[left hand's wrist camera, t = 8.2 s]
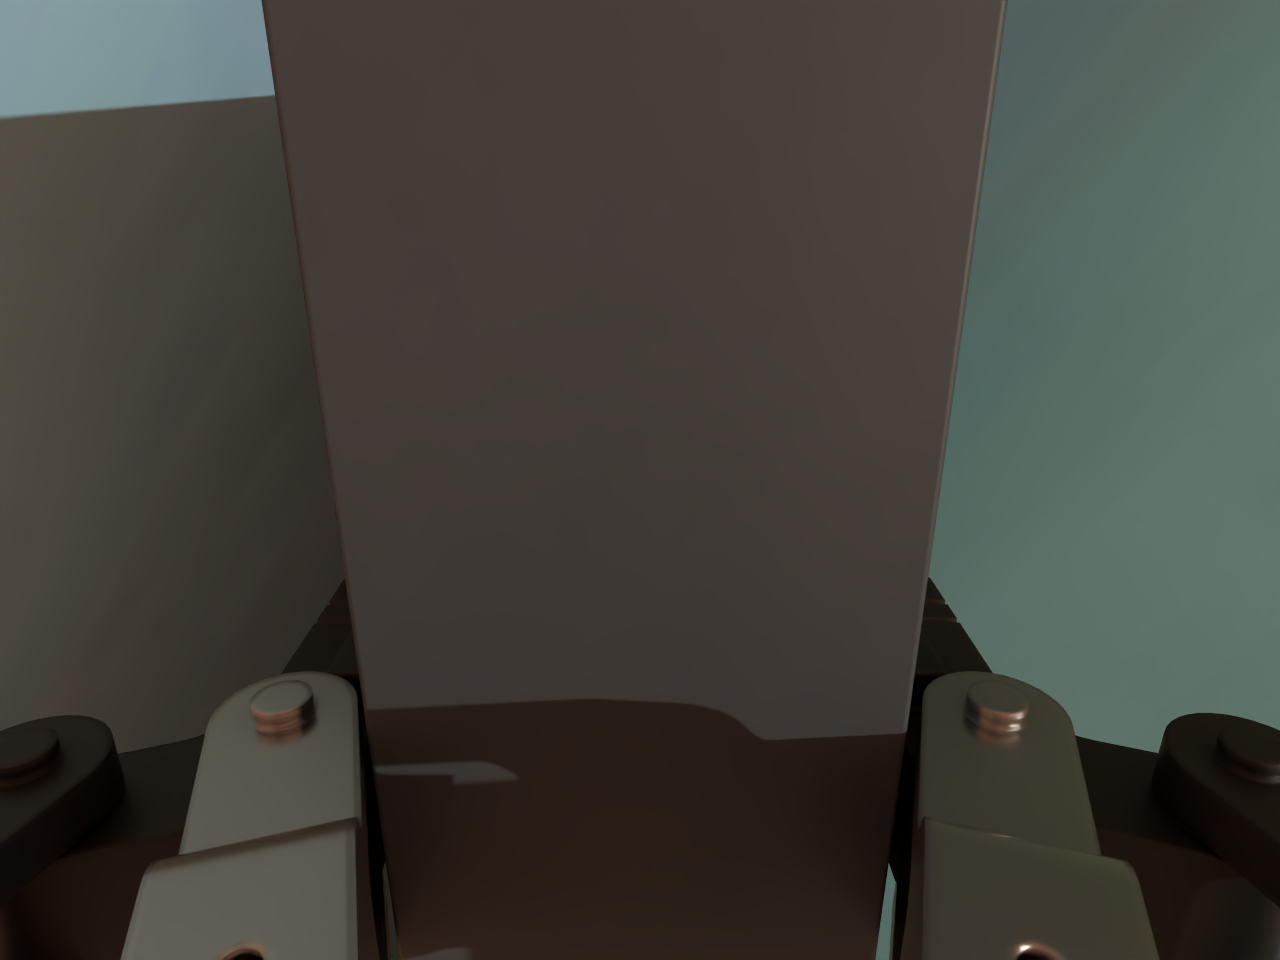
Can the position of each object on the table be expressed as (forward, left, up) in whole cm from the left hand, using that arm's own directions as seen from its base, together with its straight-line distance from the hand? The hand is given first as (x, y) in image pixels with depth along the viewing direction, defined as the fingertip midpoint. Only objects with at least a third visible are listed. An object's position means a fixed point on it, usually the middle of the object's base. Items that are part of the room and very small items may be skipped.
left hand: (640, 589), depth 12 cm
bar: (+16, -18, -4) cm, 24 cm away
